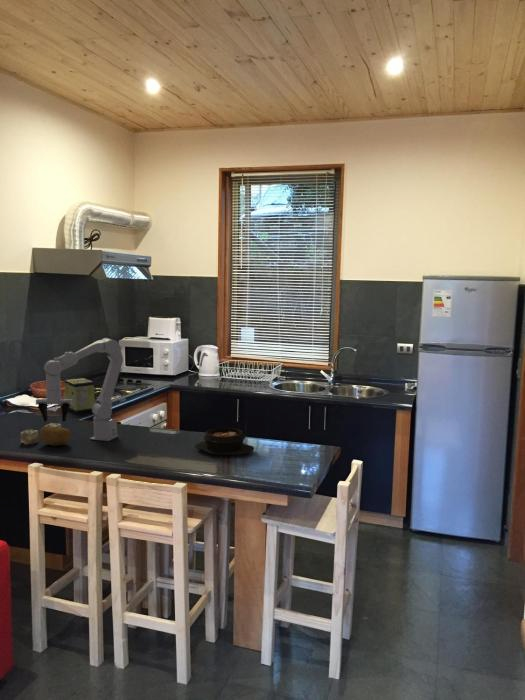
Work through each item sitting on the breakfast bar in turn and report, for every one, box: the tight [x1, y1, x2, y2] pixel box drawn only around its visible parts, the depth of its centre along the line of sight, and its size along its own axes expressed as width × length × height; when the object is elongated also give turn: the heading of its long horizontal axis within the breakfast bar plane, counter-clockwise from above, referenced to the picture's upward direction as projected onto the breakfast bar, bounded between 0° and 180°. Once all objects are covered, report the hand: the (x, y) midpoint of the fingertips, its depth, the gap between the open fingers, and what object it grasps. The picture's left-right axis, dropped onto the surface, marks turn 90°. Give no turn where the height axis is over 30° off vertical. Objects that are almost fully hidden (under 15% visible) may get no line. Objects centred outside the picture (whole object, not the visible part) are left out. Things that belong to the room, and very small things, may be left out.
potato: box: [39, 425, 72, 447], centre depth 240 cm, size 10×14×8 cm
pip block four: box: [20, 429, 40, 445], centre depth 244 cm, size 5×5×5 cm
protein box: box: [64, 377, 96, 414], centre depth 303 cm, size 10×16×16 cm
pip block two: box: [43, 422, 62, 428], centre depth 254 cm, size 5×5×5 cm
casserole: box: [194, 426, 255, 457], centre depth 233 cm, size 25×19×8 cm
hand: (55, 420), depth 239 cm, fingers open, 7 cm apart
